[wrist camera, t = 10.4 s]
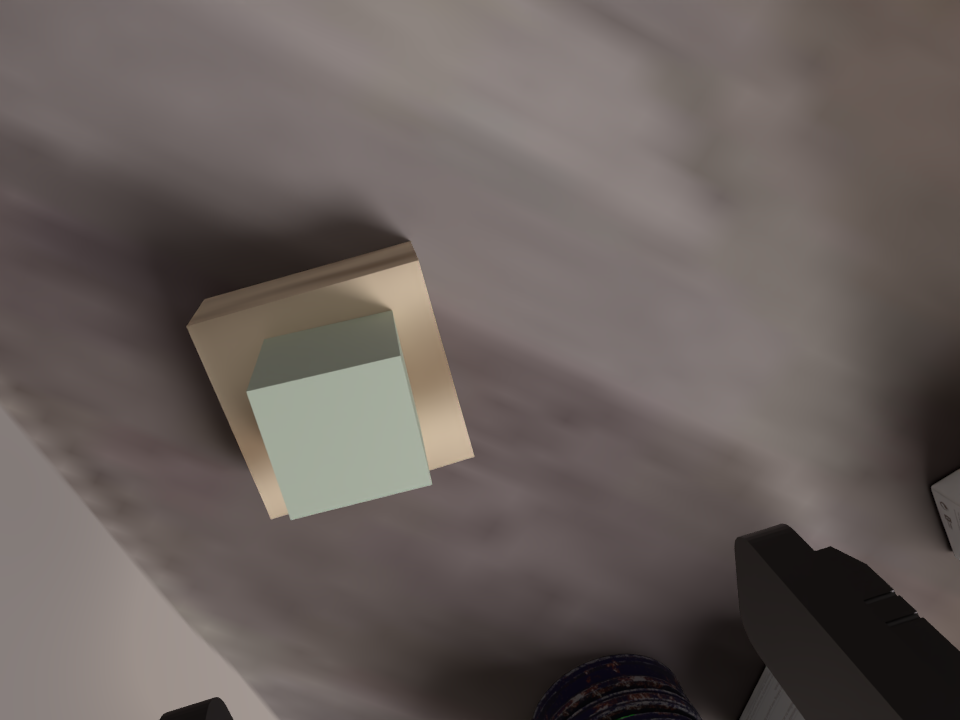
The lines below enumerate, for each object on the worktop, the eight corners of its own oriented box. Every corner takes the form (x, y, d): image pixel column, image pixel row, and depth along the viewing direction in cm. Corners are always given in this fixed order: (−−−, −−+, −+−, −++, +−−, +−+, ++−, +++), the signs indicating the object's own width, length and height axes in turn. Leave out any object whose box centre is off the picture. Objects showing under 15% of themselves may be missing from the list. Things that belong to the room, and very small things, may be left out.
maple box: (205, 297, 30) (186, 326, 26) (409, 239, 30) (418, 260, 27) (279, 471, 33) (271, 519, 30) (460, 416, 34) (474, 456, 30)
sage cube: (264, 339, 27) (246, 391, 22) (392, 309, 27) (400, 355, 23) (300, 450, 29) (290, 520, 24) (419, 421, 29) (432, 484, 25)
